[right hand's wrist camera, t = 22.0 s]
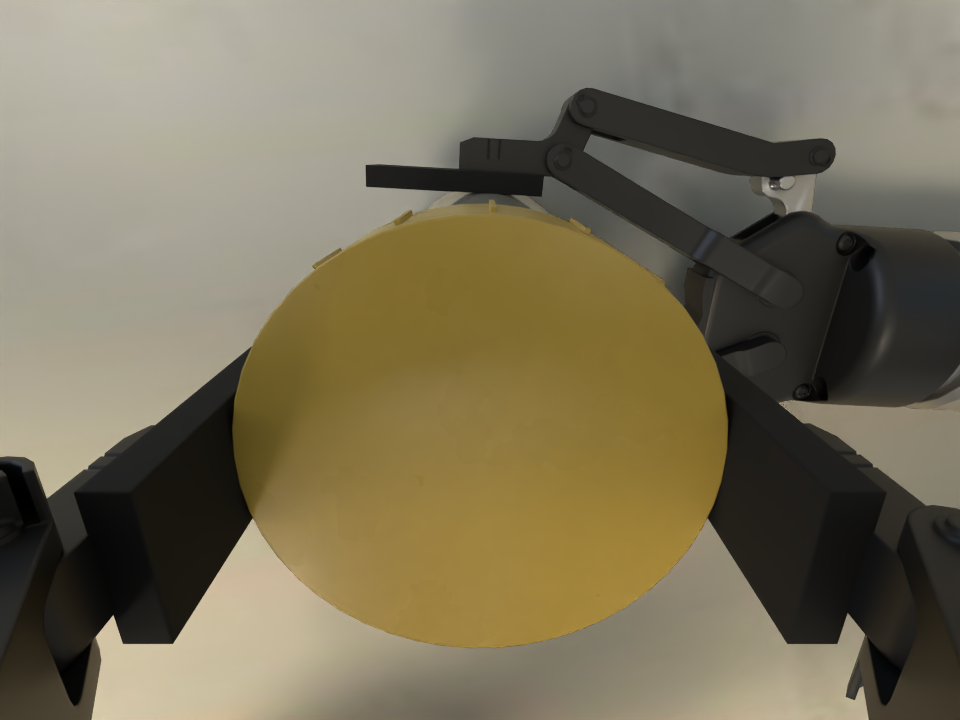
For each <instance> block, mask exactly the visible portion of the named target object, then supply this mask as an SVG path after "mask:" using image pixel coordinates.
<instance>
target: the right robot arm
mask: <svg viewBox="0 0 960 720" xmlns="http://www.w3.org/2000/svg"><path fill="white" fill-rule="evenodd" d="M251 347H252V346H251ZM251 347H250V348H249V349H248V350H247V351H245V352H244V353H243V354H242V355H241V356H239V357H238V358H237V359H236V360H234V361H233V362H232V363H231V364H230V365H228V366H227V367H226V368H225V369H223V370H222V371H221V372H220V373H219V374H217V375H216V376H215V377H214V378H212V379H211V380H210V381H209V382H208V383H206V384H205V385H204V386H203V387H201V388H200V389H199V390H198V391H197V392H195V393H194V394H193V395H192V396H190V397H189V398H188V399H187V400H186V401H184V402H183V403H182V404H181V405H179V406H178V407H177V408H176V409H175V410H173V411H172V412H171V413H170V414H169V415H167V416H166V417H165V418H164V419H162V420H161V421H160V422H159V423H158V424H156V425H151V426H149V427H147V428H145V429H142V430H140V431H138V432H136V433H134V434H132V435H130V436H128V437H126V438H124V439H123V440H121V441H120V442H119V443H117V444H116V445H115V446H114V447H112V448H111V449H110V450H109V451H107V452H106V453H105V456H104V457H100V458H98V459H97V460H96V461H95V462H93V463H92V464H91V465H89V466H88V470H83V471H82V472H81V473H79V474H78V475H77V476H75V477H74V478H73V479H72V480H70V481H69V482H68V483H66V484H65V485H64V486H63V487H61V488H60V489H59V490H58V491H56V492H55V493H54V494H52V495H51V496H50V497H49V498H46V496H45V493H44V490H43V487H42V484H41V481H40V478H39V476H38V473H37V470H36V467H35V464H34V462H32V461H30V460H29V459H27V458H25V457H9V456H7V457H0V720H91V719H92V713H93V707H94V701H95V695H96V689H97V683H98V677H99V670H100V664H101V656H100V649H99V646H98V643H97V640H96V638H95V637H96V636H97V634H98V633H99V632H100V631H101V629H102V628H103V627H104V626H105V624H106V623H107V622H108V621H109V619H110V618H111V617H112V616H113V615H114V618H115V621H116V624H117V627H118V630H119V633H120V636H121V639H122V642H123V644H173V643H174V641H175V640H176V638H177V637H178V635H179V633H180V632H181V630H182V629H183V627H184V626H185V624H186V622H187V621H188V619H189V618H190V616H191V615H192V613H193V611H194V610H195V608H196V607H197V605H198V603H199V602H200V600H201V599H202V597H203V596H204V594H205V592H206V591H207V589H208V588H209V586H210V585H211V583H212V581H213V580H214V578H215V577H216V575H217V573H218V572H219V570H220V569H221V567H222V566H223V564H224V562H225V561H226V559H227V558H228V556H229V555H230V553H231V551H232V550H233V548H234V547H235V545H236V543H237V542H238V540H239V539H240V537H241V536H242V534H243V532H244V531H245V529H246V528H247V526H248V525H249V523H250V521H251V520H252V518H253V517H252V515H251V513H250V511H249V509H248V506H247V503H246V501H245V498H244V495H243V493H242V490H241V487H240V483H239V478H238V473H237V468H236V463H235V458H234V452H233V436H232V423H233V412H234V401H235V396H236V392H237V388H238V384H239V380H240V376H241V372H242V369H243V366H244V364H245V362H246V359H247V357H248V355H249V352H250V350H251ZM708 347H709V346H708ZM709 349H710V351H711V354H712V356H713V358H714V360H715V362H716V365H717V369H718V372H719V375H720V379H721V382H722V386H723V389H724V394H725V401H726V409H727V416H728V448H727V455H726V460H725V465H724V471H723V476H722V481H721V484H720V487H719V490H718V494H717V497H716V500H715V503H714V505H713V507H712V509H711V511H710V513H709V515H708V519H709V521H710V522H711V524H712V526H713V527H714V529H715V530H716V532H717V533H718V535H719V537H720V538H721V540H722V541H723V543H724V545H725V546H726V548H727V549H728V551H729V552H730V554H731V556H732V557H733V559H734V560H735V562H736V563H737V565H738V567H739V568H740V570H741V571H742V573H743V575H744V576H745V578H746V579H747V581H748V582H749V584H750V586H751V587H752V589H753V590H754V592H755V593H756V595H757V597H758V598H759V600H760V601H761V603H762V604H763V606H764V608H765V609H766V611H767V612H768V614H769V616H770V617H771V619H772V620H773V622H774V623H775V625H776V627H777V628H778V630H779V631H780V633H781V634H782V636H783V638H784V639H785V641H786V642H787V644H837V643H838V640H839V637H840V634H841V631H842V628H843V625H844V622H845V619H846V616H847V613H848V614H849V615H850V616H851V617H852V618H853V620H854V621H855V622H856V623H857V625H858V626H859V627H860V628H861V630H862V631H863V632H864V633H865V638H864V640H863V643H862V646H861V649H860V652H859V655H858V658H857V660H856V663H855V666H854V669H853V672H852V675H851V677H850V680H849V683H848V687H847V693H846V697H848V698H850V699H853V700H855V698H856V695H857V693H858V690H859V688H860V687H862V686H863V687H864V693H865V699H866V705H867V711H868V717H869V720H960V510H959V509H956V508H950V507H943V506H936V505H930V506H926V505H924V504H923V503H922V502H921V501H919V500H918V499H917V498H915V497H914V496H913V495H912V494H910V493H909V492H908V491H906V490H905V489H904V488H903V487H901V486H900V485H899V484H897V483H896V482H895V481H894V480H892V479H891V478H890V477H888V476H887V475H886V474H885V473H883V472H882V471H881V470H879V469H878V468H873V464H872V463H870V462H869V461H868V460H867V459H865V458H864V457H863V456H861V455H857V454H856V451H855V450H854V449H852V448H851V447H850V446H849V445H847V444H846V443H845V442H843V441H842V440H841V439H840V438H838V437H837V436H835V435H833V434H831V433H829V432H826V431H824V430H822V429H820V428H818V427H816V426H814V425H812V424H803V423H802V422H800V421H799V420H798V419H797V418H796V417H794V416H793V415H792V414H791V413H789V412H788V411H787V410H786V409H785V408H783V407H782V406H781V405H780V404H778V403H777V402H776V401H775V400H774V399H772V398H771V397H770V396H769V395H767V394H766V393H765V392H764V391H763V390H761V389H760V388H759V387H758V386H756V385H755V384H754V383H753V382H752V381H750V380H749V379H748V378H747V377H745V376H744V375H743V374H742V373H741V372H739V371H738V370H737V369H736V368H735V367H733V366H732V365H731V364H730V363H728V362H727V361H726V360H725V359H724V358H722V357H721V356H720V355H719V354H717V353H716V352H715V351H714V350H713V349H711V348H710V347H709Z"/></svg>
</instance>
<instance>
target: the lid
mask: <svg viewBox="0 0 960 720" xmlns="http://www.w3.org/2000/svg"><path fill="white" fill-rule="evenodd" d="M590 232H591V230H590V229H589V228H587V227H586V226H584V225H582V224H581V223H579V222H578V221H576V220H574V219H572V218H570V220H569V222H568V221H565V220H563V219H560V218H558V217H555V216H553V215H550V214H546V213H542V212H539V211H535V210H531V209H527V208H523V207H516V206H508V205H499V204H496V203H495V200H489V204H458V205H452V206H446V207H439V208H433V209H428V210H425V211H422V212H418V213H415V214H413V213H412V210H409V211H406V212H405V213H404V214H402V215H401V216H399V217H398V218H396V219H395V220H394V221H393V222H390V223H388V224H386V225H384V226H382V227H380V228H377V229H375V230H373V231H372V232H370V233H369V234H367V235H365V236H364V237H362V238H361V239H359V240H358V241H356V242H355V243H353V244H351V245H350V246H348V247H347V248H345V249H344V250H341V248H339V249H337V250H336V251H334V252H332V253H331V254H329V255H328V256H326V257H324V258H323V259H321V260H320V261H318V262H317V263H315V264H314V265H313V266H312V267H313V268H314V269H315V270H314V271H312V272H311V273H310V274H309V275H308V276H307V277H306V278H304V279H303V280H302V281H301V282H300V283H299V284H297V285H296V286H295V287H294V288H293V289H292V290H291V291H290V292H289V294H288V295H287V296H286V297H285V298H284V299H283V301H282V302H281V303H280V304H279V305H278V306H277V308H276V309H275V310H274V311H273V312H272V313H271V315H270V316H269V318H268V320H267V321H266V323H265V325H264V326H263V328H262V329H261V330H260V332H259V334H258V336H257V337H256V339H255V341H254V343H253V345H252V347H251V350H250V352H249V355H248V357H247V359H246V362H245V364H244V366H243V369H242V372H241V376H240V380H239V384H238V388H237V392H236V396H235V401H234V412H233V423H232V436H233V452H234V458H235V463H236V468H237V473H238V478H239V483H240V487H241V490H242V493H243V495H244V498H245V501H246V503H247V506H248V509H249V511H250V513H251V515H252V517H253V519H254V521H255V523H256V524H257V526H258V528H259V530H260V532H261V534H262V535H263V537H264V538H265V540H266V541H267V542H268V544H269V545H270V547H271V548H272V549H273V551H274V552H275V554H276V555H277V556H278V558H279V559H280V560H281V561H282V562H283V563H284V564H285V565H286V566H287V567H288V569H289V570H290V571H291V572H292V573H293V574H294V575H295V576H296V577H297V578H298V579H299V580H300V581H302V582H303V583H304V584H305V585H306V586H307V587H309V588H310V589H311V590H312V591H313V592H314V593H316V594H317V595H318V596H320V597H321V598H323V599H324V600H325V601H327V602H328V603H330V604H331V605H333V606H334V607H336V608H337V609H339V610H340V611H342V612H344V613H346V614H348V615H350V616H352V617H354V618H356V619H357V620H359V621H361V622H363V623H365V624H368V625H370V626H373V627H375V628H378V629H380V630H383V631H385V632H388V633H391V634H394V635H398V636H401V637H404V638H408V639H411V640H415V641H420V642H425V643H431V644H436V645H442V646H452V647H464V648H499V647H508V646H517V645H526V644H530V643H535V642H540V641H545V640H549V639H553V638H557V637H560V636H563V635H566V634H569V633H572V632H575V631H578V630H581V629H583V628H585V627H588V626H590V625H592V624H595V623H597V622H599V621H602V620H604V619H605V618H607V617H609V616H611V615H612V614H614V613H616V612H618V611H620V610H621V609H623V608H625V607H627V606H628V605H629V604H631V603H632V602H634V601H635V600H636V599H638V598H639V597H641V596H642V595H643V594H645V593H646V592H648V591H649V590H650V589H651V588H652V587H653V586H654V585H655V584H657V583H658V582H659V581H660V580H661V579H662V578H663V577H664V576H665V575H666V574H668V573H669V572H670V570H671V569H672V568H673V567H674V566H675V565H676V564H677V562H678V561H679V560H680V559H681V558H682V557H683V555H684V554H685V553H686V552H687V551H688V549H689V548H690V546H691V545H692V543H693V542H694V540H695V539H696V537H697V536H698V534H699V533H700V531H701V530H702V528H703V526H704V524H705V522H706V520H707V518H708V515H709V513H710V511H711V509H712V507H713V505H714V503H715V500H716V497H717V494H718V490H719V487H720V484H721V481H722V476H723V471H724V465H725V460H726V455H727V448H728V416H727V409H726V401H725V394H724V389H723V386H722V382H721V379H720V375H719V372H718V369H717V365H716V362H715V360H714V358H713V356H712V354H711V351H710V349H709V347H708V345H707V343H706V341H705V339H704V337H703V334H702V333H701V331H700V330H699V328H698V327H697V326H696V324H695V323H694V321H693V320H692V318H691V317H690V315H689V314H688V312H687V311H686V309H685V308H684V307H683V305H682V304H681V303H680V302H679V301H678V300H677V299H676V298H675V297H674V296H673V295H672V294H671V292H670V291H669V290H668V289H667V288H666V287H665V286H664V285H665V284H666V282H665V281H664V280H663V279H661V278H660V277H658V276H657V275H655V274H654V273H652V272H651V271H649V270H648V269H646V268H644V267H643V266H641V265H640V264H638V263H637V262H635V261H634V260H632V259H631V258H629V257H628V256H626V255H625V254H623V253H622V252H620V251H619V250H617V249H616V248H614V247H613V246H611V245H610V244H608V243H606V242H605V241H603V240H602V239H600V238H598V237H597V236H595V235H593V234H591V233H590Z"/></svg>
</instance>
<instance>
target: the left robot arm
mask: <svg viewBox="0 0 960 720" xmlns="http://www.w3.org/2000/svg"><path fill="white" fill-rule="evenodd" d="M591 134H592V135H595V136H598V137H602V138H605V139H609V140H612V141H615V142H619V143H622V144H626V145H629V146H632V147H636V148H639V149H643V150H646V151H649V152H653V153H656V154H660V155H663V156H666V157H670V158H673V159H676V160H680V161H683V162H687V163H690V164H693V165H697V166H700V167H704V168H707V169H710V170H714V171H717V172H721V173H726V174H730V175H741V176H751V177H750V187H751V189H752V191H753V192H754V193H755V194H756V195H758V196H763V197H767V198H769V199H770V200H771V201H772V202H773V205H774V212H773V213H771V214H769V215H767V216H766V217H764V218H762V219H761V220H759V221H757V222H755V223H754V224H752V225H750V226H749V227H747V228H745V229H744V230H742V231H740V232H739V233H737V234H735V235H733V236H732V237H730V238H727V237H726V236H724V235H722V234H720V233H718V232H716V231H714V230H712V229H710V228H708V227H707V226H705V225H703V224H702V223H700V222H698V221H697V220H695V219H693V218H692V217H690V216H688V215H687V214H685V213H683V212H682V211H680V210H679V209H677V208H675V207H674V206H672V205H670V204H669V203H667V202H665V201H664V200H662V199H661V198H659V197H657V196H656V195H654V194H652V193H651V192H649V191H647V190H646V189H644V188H642V187H641V186H639V185H638V184H636V183H634V182H633V181H631V180H629V179H628V178H626V177H624V176H623V175H621V174H619V173H618V172H616V171H615V170H613V169H611V168H610V167H608V166H606V165H605V164H603V163H601V162H600V161H598V160H596V159H595V158H593V157H592V156H590V155H588V154H587V153H585V152H583V150H584V148H585V146H586V143H587V141H588V139H589V137H590V135H591ZM835 155H836V153H835V147H834V145H833V143H832V142H831V141H829V140H828V139H805V140H789V141H777V142H769V141H765V140H762V139H759V138H755V137H752V136H749V135H746V134H742V133H739V132H736V131H732V130H729V129H726V128H722V127H719V126H716V125H712V124H709V123H706V122H703V121H699V120H696V119H693V118H689V117H686V116H683V115H679V114H676V113H673V112H669V111H666V110H663V109H660V108H656V107H653V106H650V105H646V104H643V103H640V102H636V101H633V100H630V99H626V98H623V97H620V96H617V95H613V94H610V93H607V92H603V91H600V90H597V89H593V88H585V89H582V90H580V91H578V92H577V93H575V94H574V95H573V96H571V97H570V98H569V99H568V100H566V101H565V102H564V104H563V106H562V109H561V113H560V116H559V118H558V120H557V122H556V125H555V127H554V129H553V131H552V133H551V134H550V135H549V136H548V137H547V138H546V139H544V140H542V141H526V140H509V139H492V138H475V137H474V138H471V139H468V140H466V141H463V142H460V159H459V169H451V168H433V167H416V166H398V165H381V164H378V165H366V187H380V188H398V189H416V190H433V191H451V192H469V193H486V194H504V195H522V196H539V197H542V189H543V178H544V176H551V177H553V178H555V179H557V180H558V181H560V182H562V183H563V184H565V185H567V186H569V187H570V188H572V189H574V190H575V191H577V192H579V193H580V194H582V195H584V196H585V197H587V198H589V199H590V200H592V201H594V202H596V203H597V204H599V205H601V206H602V207H604V208H606V209H607V210H609V211H611V212H612V213H614V214H616V215H617V216H619V217H621V218H623V219H624V220H626V221H628V222H629V223H631V224H633V225H634V226H636V227H638V228H639V229H641V230H643V231H644V232H646V233H648V234H650V235H651V236H653V237H655V238H656V239H658V240H660V241H661V242H663V243H665V244H666V245H668V246H670V247H671V248H672V249H674V250H676V251H677V252H679V253H681V254H682V255H684V256H686V257H687V258H689V259H691V260H693V261H694V262H696V263H695V265H694V266H693V268H688V269H687V274H686V279H685V284H684V288H685V305H684V308H685V309H686V311H687V312H688V314H689V315H690V317H691V318H692V320H693V321H694V323H695V324H696V326H697V327H698V328H699V330H700V331H701V333H702V334H703V337H704V339H705V341H706V343H707V345H708V346H709V347H710V348H711V349H713V350H714V351H715V352H716V353H717V354H719V355H720V356H721V357H722V358H724V359H725V360H726V361H727V362H728V363H730V364H731V365H732V366H733V367H735V368H736V369H737V370H738V371H739V372H741V373H742V374H743V375H744V376H745V377H747V378H748V379H749V380H750V381H752V382H753V383H754V384H755V385H756V386H758V387H759V388H760V389H761V390H763V391H764V392H765V393H766V394H767V395H769V396H770V397H771V398H772V399H774V400H775V401H776V402H777V403H779V402H783V401H788V400H797V401H804V402H811V403H820V404H837V405H858V406H878V407H902V406H905V407H908V408H912V409H931V410H954V411H960V232H953V231H934V232H929V231H925V230H918V229H902V228H884V227H866V226H849V225H832V224H829V223H827V222H826V221H824V220H823V219H822V218H820V217H819V216H818V215H816V214H814V213H811V212H812V205H813V197H814V190H815V182H816V174H818V173H821V172H824V171H825V170H826V169H828V168H829V167H830V166H831V164H832V163H833V161H834V158H835Z"/></svg>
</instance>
